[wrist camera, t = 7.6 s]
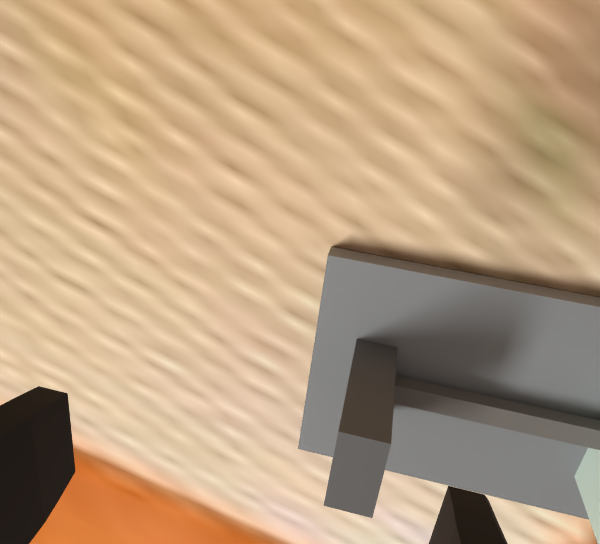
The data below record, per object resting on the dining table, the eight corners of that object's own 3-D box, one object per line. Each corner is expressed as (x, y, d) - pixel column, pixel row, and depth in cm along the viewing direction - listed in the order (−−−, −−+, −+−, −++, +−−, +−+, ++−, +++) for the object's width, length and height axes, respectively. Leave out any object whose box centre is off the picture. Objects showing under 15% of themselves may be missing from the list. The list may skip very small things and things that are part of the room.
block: (717, 509, 19) (807, 655, 15) (340, 422, 21) (319, 527, 16) (788, 403, 17) (922, 536, 12) (361, 315, 19) (343, 403, 14)
